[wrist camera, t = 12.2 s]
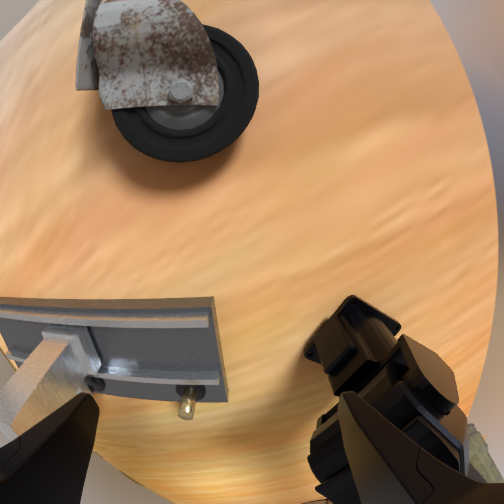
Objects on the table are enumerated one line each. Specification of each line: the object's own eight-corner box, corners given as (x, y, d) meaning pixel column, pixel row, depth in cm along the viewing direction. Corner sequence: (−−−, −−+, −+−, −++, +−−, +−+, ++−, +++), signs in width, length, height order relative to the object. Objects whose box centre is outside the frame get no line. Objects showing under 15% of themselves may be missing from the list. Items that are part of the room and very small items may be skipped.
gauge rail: (213, 296, 20) (206, 332, 16) (228, 390, 23) (226, 428, 19) (-5, 296, 20) (-29, 315, 16) (28, 368, 23) (11, 390, 19)
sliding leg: (86, 326, 19) (14, 427, 8) (113, 389, 21) (73, 486, 10) (49, 323, 19) (-22, 407, 8) (78, 383, 21) (32, 467, 10)
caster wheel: (242, 149, 19) (107, 151, 17) (257, 6, 13) (116, 9, 12) (258, 175, 14) (69, 178, 12) (281, -28, 8) (81, -20, 6)
